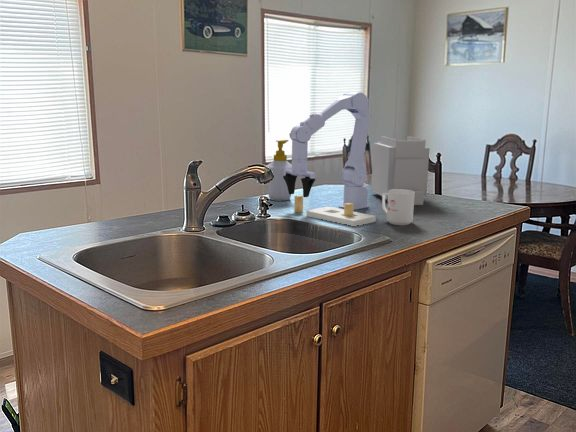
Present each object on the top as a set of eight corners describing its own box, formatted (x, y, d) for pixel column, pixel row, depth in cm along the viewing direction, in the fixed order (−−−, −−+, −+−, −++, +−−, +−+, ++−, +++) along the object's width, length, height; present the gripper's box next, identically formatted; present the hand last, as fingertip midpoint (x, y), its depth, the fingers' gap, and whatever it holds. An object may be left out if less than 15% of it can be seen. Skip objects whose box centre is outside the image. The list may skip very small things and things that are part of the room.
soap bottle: (300, 198, 233) (301, 140, 228) (284, 203, 223) (285, 142, 217) (275, 195, 240) (276, 138, 234) (258, 200, 229) (258, 140, 224)
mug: (417, 223, 192) (419, 191, 189) (403, 227, 186) (405, 194, 183) (389, 217, 200) (390, 187, 198) (374, 221, 194) (375, 189, 192)
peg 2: (354, 220, 194) (355, 203, 193) (349, 222, 192) (349, 205, 190) (347, 219, 196) (348, 202, 195) (341, 220, 194) (342, 203, 193)
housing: (328, 211, 208) (328, 206, 208) (375, 221, 193) (375, 216, 192) (306, 216, 200) (306, 210, 200) (353, 226, 185) (354, 221, 184)
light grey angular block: (390, 205, 222) (393, 140, 217) (370, 193, 248) (373, 135, 243) (430, 204, 225) (435, 140, 220) (406, 193, 251) (410, 135, 245)
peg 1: (298, 210, 209) (298, 195, 208) (304, 212, 207) (304, 196, 206) (292, 211, 207) (292, 196, 206) (298, 213, 205) (298, 197, 203)
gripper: (278, 157, 205) (277, 193, 208) (306, 161, 195) (305, 199, 198) (291, 156, 210) (290, 192, 213) (319, 160, 200) (318, 197, 203)
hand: (298, 195), depth 206 cm, fingers open, 7 cm apart
